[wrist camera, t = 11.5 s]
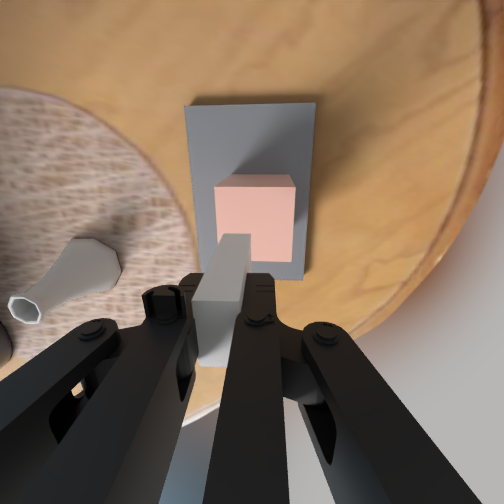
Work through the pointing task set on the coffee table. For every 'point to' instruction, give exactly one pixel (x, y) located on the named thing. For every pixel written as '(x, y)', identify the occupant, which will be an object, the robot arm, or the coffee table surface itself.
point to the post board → (250, 166)
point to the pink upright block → (258, 213)
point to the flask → (68, 280)
